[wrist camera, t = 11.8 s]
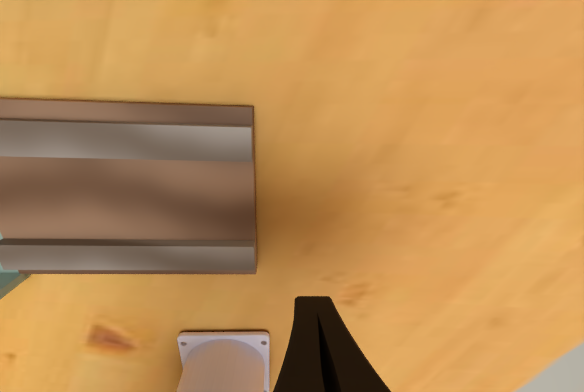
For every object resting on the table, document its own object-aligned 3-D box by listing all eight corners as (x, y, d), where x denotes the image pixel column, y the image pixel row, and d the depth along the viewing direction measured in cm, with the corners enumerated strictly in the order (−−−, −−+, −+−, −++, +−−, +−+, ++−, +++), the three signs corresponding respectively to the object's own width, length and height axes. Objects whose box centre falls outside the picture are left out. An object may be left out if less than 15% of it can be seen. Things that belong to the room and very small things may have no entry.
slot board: (257, 265, 21) (255, 281, 19) (31, 264, 20) (9, 281, 19) (253, 105, 16) (250, 109, 15) (-43, 96, 15) (-81, 98, 14)
